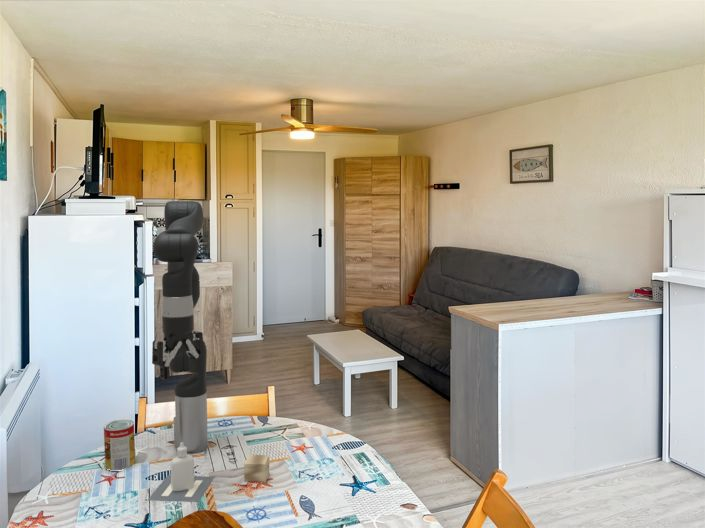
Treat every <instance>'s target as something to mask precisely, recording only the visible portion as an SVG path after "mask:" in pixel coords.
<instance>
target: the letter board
mask: <svg viewBox="0 0 705 528" xmlns="http://www.w3.org/2000/svg"><path fill="white" fill-rule="evenodd" d="M215 477H216V476H207V475H206V476H205V475H204V476H203V475H198V476H197V475H194V486H193V487H192V488H190V489H187V490H183V491H177V492H175V491H173V490H172V488H171V474H170V475H169V474H168V475H167V476H166V477H165V478H164V479H163V481H162V482H161V483H160V484H159V485H158V487H157V488H156V489H155V490H154V491H153V493H151V495H150V496H149V497H148V498H147V501H151V502H152V501H153V502H154V501H155V502H156V501H157V502H158V501H159V502H183V503H187V502H188V503H199V502H200V501H201V499H202V497H204V494H205V493H206V492H207V490H208V488H209V487H210V485H211V484H212V482H213V480H214V479H215Z"/></svg>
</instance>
